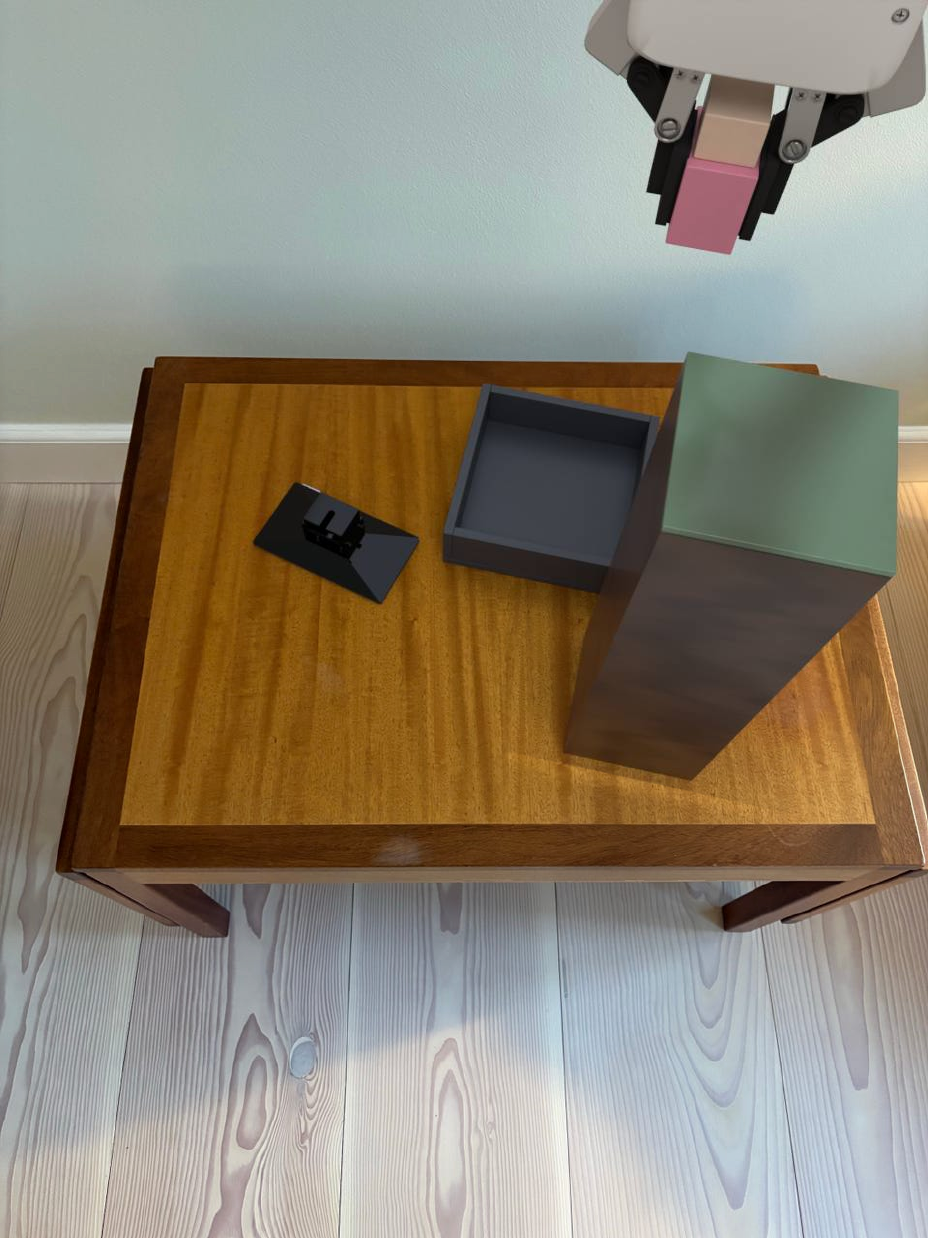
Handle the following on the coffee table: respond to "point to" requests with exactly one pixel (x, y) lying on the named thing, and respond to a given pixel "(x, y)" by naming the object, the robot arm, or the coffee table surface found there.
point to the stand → (735, 559)
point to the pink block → (721, 165)
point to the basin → (546, 487)
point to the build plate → (337, 542)
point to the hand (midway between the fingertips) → (706, 208)
